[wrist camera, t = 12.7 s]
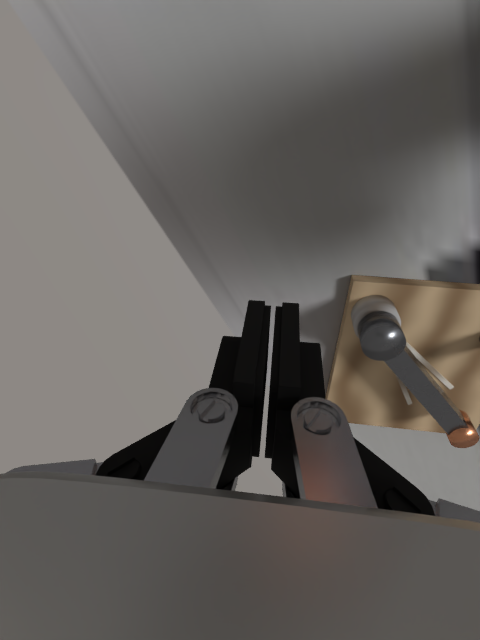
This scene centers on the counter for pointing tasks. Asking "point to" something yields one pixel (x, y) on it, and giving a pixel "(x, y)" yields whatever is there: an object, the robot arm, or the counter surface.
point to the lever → (413, 375)
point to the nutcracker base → (422, 340)
